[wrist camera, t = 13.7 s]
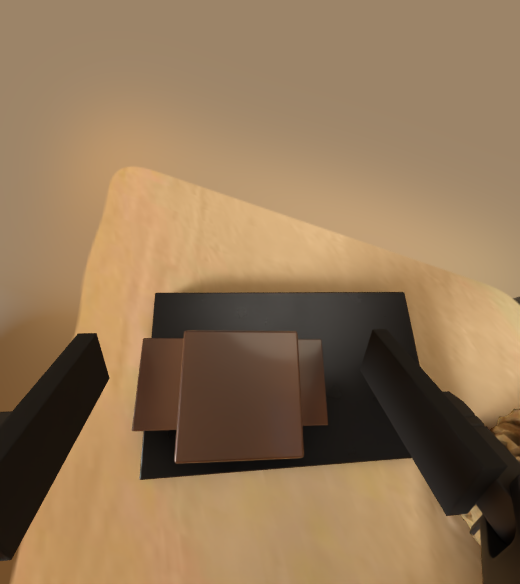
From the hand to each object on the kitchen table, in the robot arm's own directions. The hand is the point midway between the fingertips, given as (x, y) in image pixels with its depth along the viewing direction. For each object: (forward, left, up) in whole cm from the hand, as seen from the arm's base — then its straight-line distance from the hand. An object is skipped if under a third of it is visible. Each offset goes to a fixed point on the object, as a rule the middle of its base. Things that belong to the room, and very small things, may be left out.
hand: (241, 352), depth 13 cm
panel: (-4, +1, -8) cm, 9 cm away
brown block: (0, +1, -6) cm, 6 cm away
